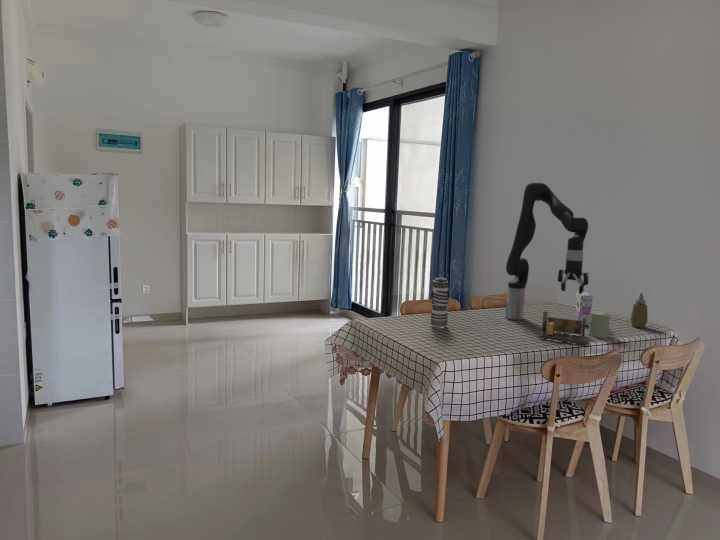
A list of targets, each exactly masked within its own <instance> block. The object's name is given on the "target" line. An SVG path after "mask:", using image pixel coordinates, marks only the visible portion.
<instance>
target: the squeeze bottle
mask: <svg viewBox="0 0 720 540" xmlns="http://www.w3.org/2000/svg"><path fill="white" fill-rule="evenodd" d="M646 302H647V301H646V300H645V299H644V293H642V292H640V293H639V296H638V298H637V299H635V303H634V304H633V305H632V310H631V314H630V323H631V326H632V327H633V326H634V327H633V328H636V327H644V328H646V325H647V323H648V305H647V303H646Z"/></svg>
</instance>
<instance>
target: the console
mask: <svg viewBox="0 0 720 540" xmlns="http://www.w3.org/2000/svg"><path fill="white" fill-rule="evenodd" d="M540 338H544V339H551V340H558V341H562V342H570V343H576V344H575V345H577V344H579V345H578V346H584V347H585V346H586V345H587V342H588V336H585V335H584V336H576V335H569V334H561V333H554V334H553V335H548V334H547V330H546V331H542V332H541V334H540V335H539V339H540ZM586 341H587V342H586ZM562 342H561V343H562ZM570 343H569V344H570Z"/></svg>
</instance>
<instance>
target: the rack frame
mask: <svg viewBox="0 0 720 540" xmlns="http://www.w3.org/2000/svg"><path fill="white" fill-rule="evenodd" d="M548 314H549V313H548V311H545V310H544V311H542V327H541V328H542V329H541V332H543V331H546V332H547V324H548ZM585 322H586V318H583V326H582V332H581V335H582V336H584V337H585V333H586V326H585ZM555 332H556V333H563V334H571V333H565V332H557V331H555Z"/></svg>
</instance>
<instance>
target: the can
mask: <svg viewBox="0 0 720 540" xmlns="http://www.w3.org/2000/svg"><path fill="white" fill-rule="evenodd" d="M610 321H611V313H610V312H606V311H602V310H601V311H600V310H591V312H590V326H588V328H589V329H588V334H589V335H590V336H589V335H588V336H589V337H591V336H593V337H592V338H595V337H598V338H597V339H608V338H609V336H610V335H609V333H610ZM607 337H608V338H607Z"/></svg>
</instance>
